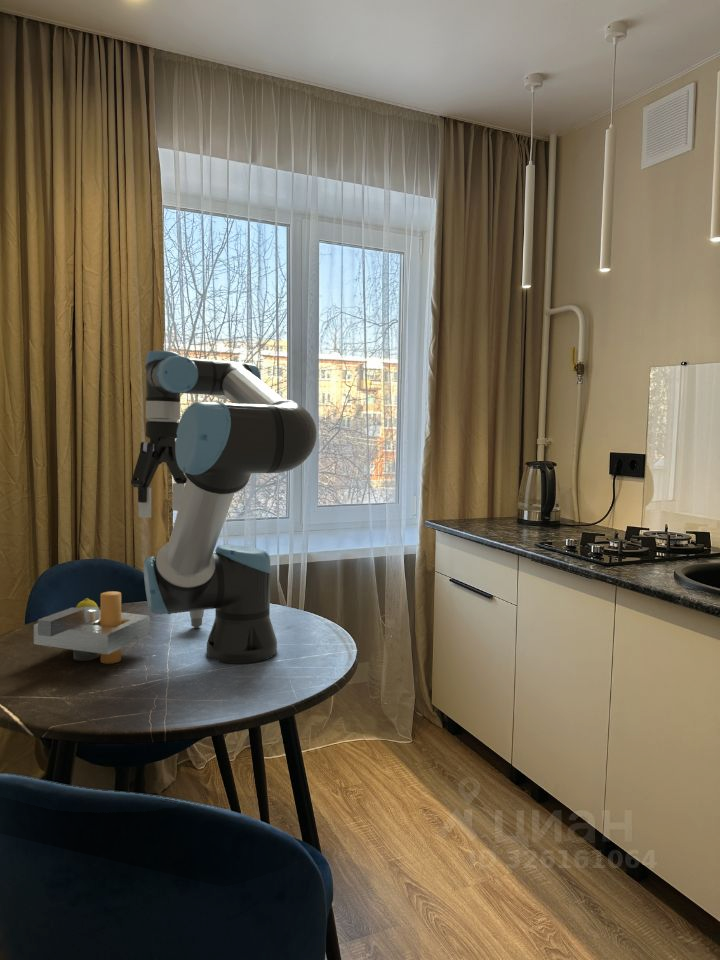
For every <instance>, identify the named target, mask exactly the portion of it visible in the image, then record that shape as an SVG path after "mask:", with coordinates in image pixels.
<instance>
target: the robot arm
mask: <svg viewBox="0 0 720 960" xmlns="http://www.w3.org/2000/svg"><path fill="white" fill-rule="evenodd" d="M145 360H146V362H145V365H144V366H145V367H144V368H145V369H144V370H145V418H146V419H148V421H146V422H145V437H146V438H148V439H149V441H141V442H140V446H139V454H138V456H137V460H136V463H135V464H136V465H135V468H134V469H133V474H132V477H131V479H130V480H131V481H130V485H132V487H134V488H137V501H138V510H137V511H138V518H146V519H150V518H151V519H152V487H150V485H151V483H152V480H153V478H154V476H155V474H156V472H157V470H158V468H159V466H160V465H161V464H162V463H164V464H166V466H167V467H168V470H169V472H170V473H171V476H172V479H173V480H174V482H173V483H172V511H173V512H174V511H175V512H176V511H177V513H176V516H175V520H174V523H173V528H172V531H171V535H170V538H169V541H168V542H166V543H165V544H164V545H162V547H160V549H159V550H158V552H157V555H156V556H154V555H153V556H152V555H151V556H150V557H147V558H145V559H144V561H143V578H144V587H145V588H144V589H145V594H146V595H145V596H146V600H147V605H148V609H149V610H150V612H151V613H152V614H155V615H165V614H166V615H171V614H179V613H188V612H189V613H190V611H198V610H204V611H205V610H206V611H207V610H214V609H215V617H214V622H213V623H212V627H211V630H210V633H209V635H208V639H207V642H206V655H207V657H208V658H210V659H211V660H214V661H216V662H220V663H227V664H251V663H250V662H253V663H257V661H258V662H262V660H263V661H265V659H266V660H268V659H267V658H269V657H271V656H272V657H274V656H275V655H276V654H277V652H278V640H277V637H276V634H275V633H276V632H275V630H274V627H273V623H272V621H271V616H270V614H271V613H270V611H271V610H270V609H271V608H270V606H271V575H272V570H271V556H270V555H269V553H268V552H267V551H265V550H263V549H260V548H257V547H252V546H248V545H242V544H219V545H217V542H218V539H219V537H220V534H221V532H222V530H223V527H224V523H225V521H226V517H227V515H228V513H229V510H230V508H231V507H230V506H231V504H232V501H233V500H234V496H235V494H236V493H238V492H239V493H240V491H242V490H243V489H244V488H246V486H247V485H248V483H249V481H250V479H251V478H250V477H251V476H252V474H280V473H285V472H288V471H291V470H293V469H296V468H297V467H299V466H300V465H301V464H303V463H304V462H305V461H306V460H307V459H308V458H309V456H310V455H311V453H312V452H313V450H314V448H315V445H316V442H317V426H316V424H315V420H314V418H313V417H312V415H311V413H309V412H308V410H306V409H305V408H304V407H303V406H302V405H300V404H299V403H298V402H296V401H294V400H291V399H284V397H282V396H281V395H279V394H278V392H276V391H274V390H273V388H270V387H269V386H268V385H267V384H266V383H264V382H263V381H262V379H261V378H262V376H261V371H260V369H259V367H258V366H257V365H256V364H254V363H247V362H243V361H225V360H211V359H202V358H201V359H200V358H192V357H186V356H183V355H180V354H179V353H178V352H175V351H171V350H170V351H168V350H150V351H148V352H147V354H146V359H145ZM181 394H190V395H209V396H223V397H226V399H228V400H229V402H231V403H228V402H227V403H226V402H223V401H220V400H213V401H202V402H201V401H198V402H194V403H192V404H191V405H189V406H188V407H187V408H186V409H185V410H184V411H183V414H182V415H181ZM178 420H179V422H178ZM216 545H217V546H216ZM214 551H215V552H214ZM275 653H276V654H275ZM274 654H275V655H274ZM273 655H274V656H273ZM272 657H271V658H272ZM269 659H270V658H269Z"/></svg>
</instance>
